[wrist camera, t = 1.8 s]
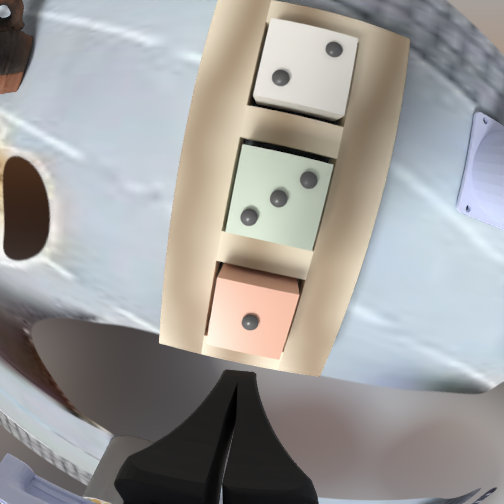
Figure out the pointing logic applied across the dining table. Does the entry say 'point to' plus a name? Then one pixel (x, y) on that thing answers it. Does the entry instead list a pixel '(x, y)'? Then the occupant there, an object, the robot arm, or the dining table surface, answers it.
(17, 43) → the pottery mug
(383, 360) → the dining table surface
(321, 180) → the three dot key
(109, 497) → the coffee mug
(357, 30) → the wooden puzzle board
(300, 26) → the two dot key
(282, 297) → the one dot key
